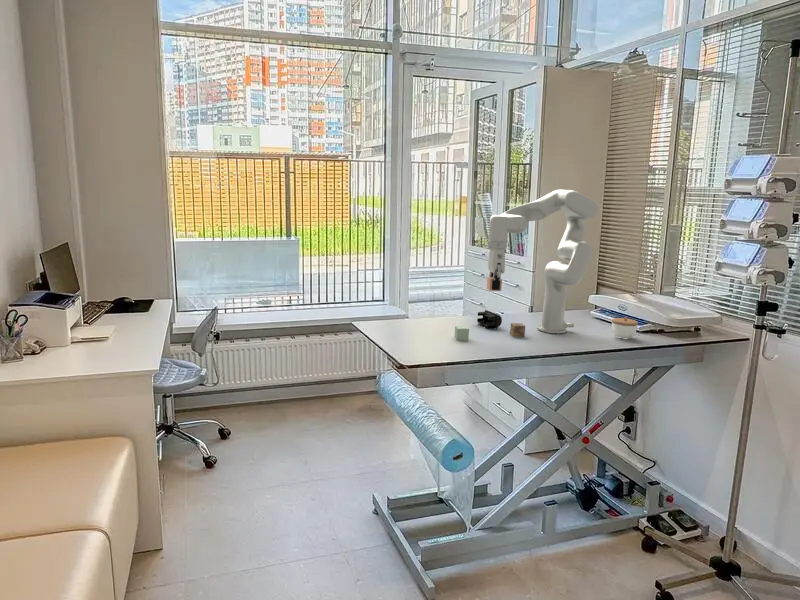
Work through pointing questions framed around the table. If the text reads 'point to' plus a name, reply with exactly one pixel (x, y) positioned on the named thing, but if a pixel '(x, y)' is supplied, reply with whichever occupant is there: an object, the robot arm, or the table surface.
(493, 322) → the black claw piece
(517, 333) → the walnut block
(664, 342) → the table surface
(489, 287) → the terracotta block
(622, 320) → the lidded jar
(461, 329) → the sage block
